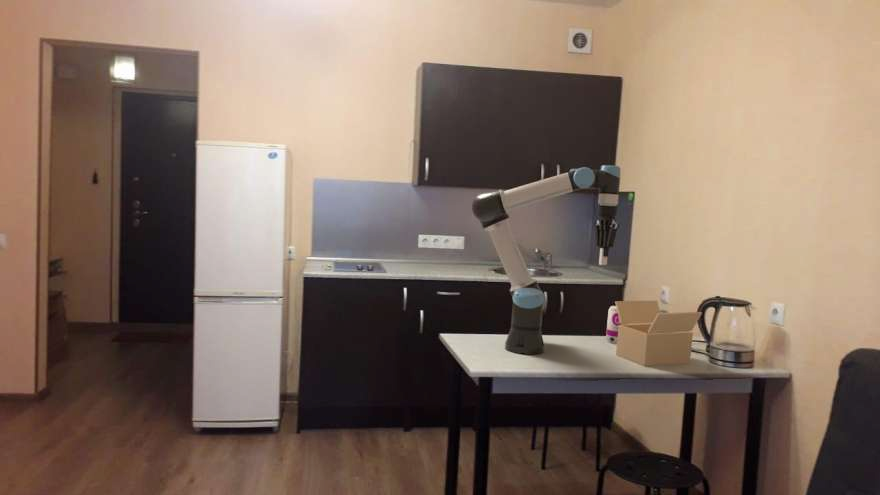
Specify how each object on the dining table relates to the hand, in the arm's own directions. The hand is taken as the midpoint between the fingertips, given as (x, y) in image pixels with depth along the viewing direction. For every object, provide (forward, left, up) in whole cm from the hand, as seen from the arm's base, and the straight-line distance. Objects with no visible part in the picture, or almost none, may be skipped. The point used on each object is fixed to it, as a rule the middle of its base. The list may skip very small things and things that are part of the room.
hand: (602, 264), depth 253 cm
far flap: (+14, -7, -18) cm, 24 cm away
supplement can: (+18, +10, -35) cm, 40 cm away
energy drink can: (+35, +3, -35) cm, 49 cm away
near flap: (+14, -27, -18) cm, 35 cm away
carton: (+14, -17, -34) cm, 41 cm away
